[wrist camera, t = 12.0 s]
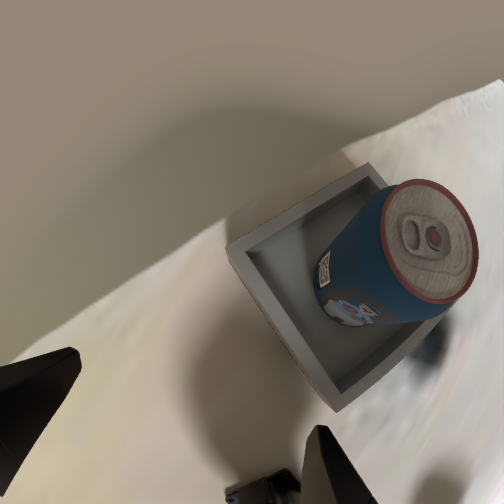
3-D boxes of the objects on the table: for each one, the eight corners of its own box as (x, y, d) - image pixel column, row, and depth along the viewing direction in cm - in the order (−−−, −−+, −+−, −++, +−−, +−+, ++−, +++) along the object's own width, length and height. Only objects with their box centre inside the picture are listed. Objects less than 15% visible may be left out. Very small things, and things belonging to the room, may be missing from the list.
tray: (435, 302, 22) (460, 295, 18) (322, 400, 20) (336, 413, 16) (354, 184, 25) (368, 162, 21) (229, 261, 23) (224, 247, 19)
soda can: (386, 248, 22) (473, 183, 11) (386, 328, 20) (490, 316, 9) (311, 239, 23) (363, 153, 11) (306, 325, 21) (370, 317, 9)
